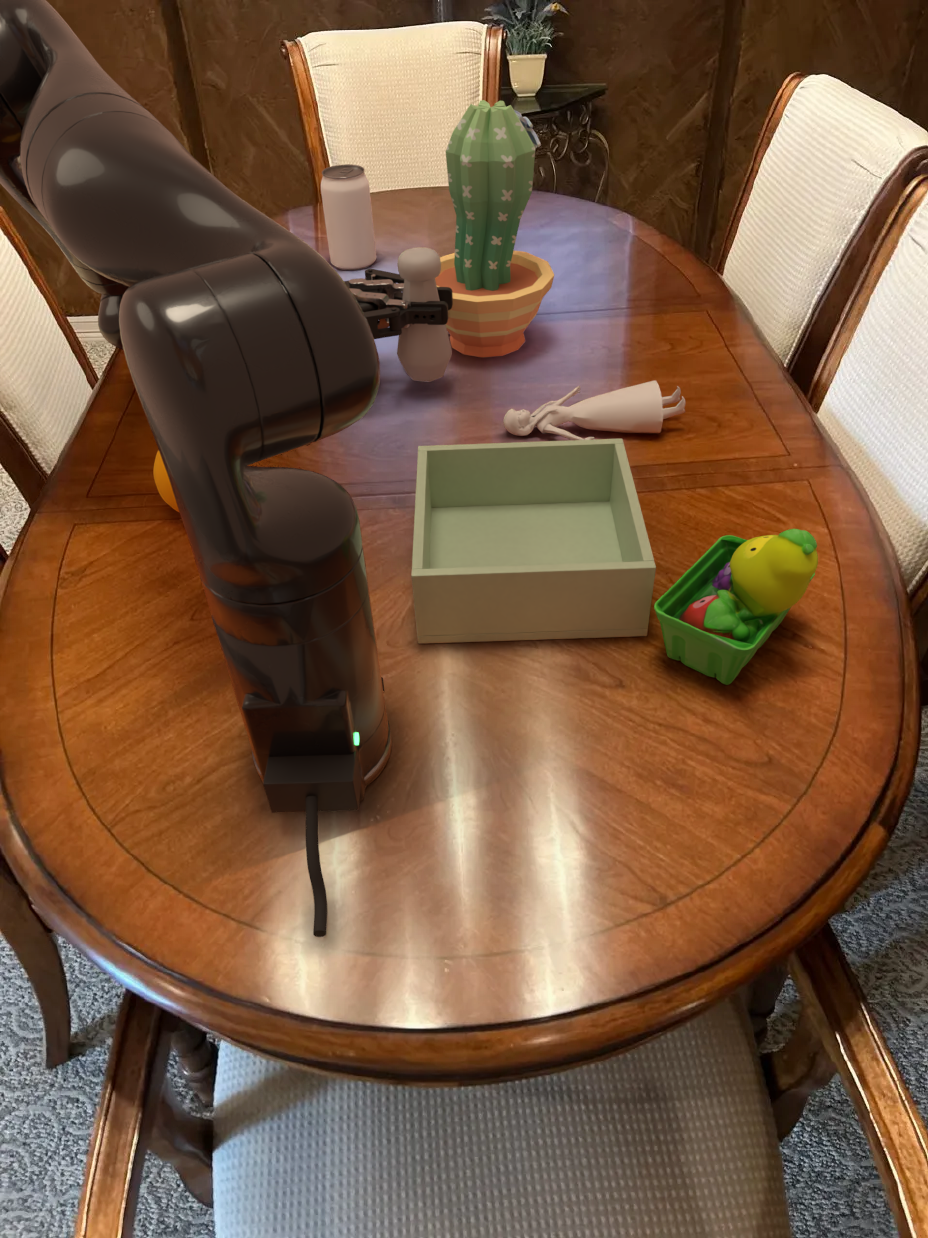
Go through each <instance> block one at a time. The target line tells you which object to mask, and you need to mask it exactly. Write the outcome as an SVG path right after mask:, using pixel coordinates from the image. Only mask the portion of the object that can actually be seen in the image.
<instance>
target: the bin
mask: <svg viewBox="0 0 928 1238" xmlns="http://www.w3.org/2000/svg"><path fill="white" fill-rule="evenodd" d="M416 459H417V461H416V464H417V465H416V480H415V498H414V501H415V502H414V517H413V536H412V553H411V554H412V555H411V575H410V577H411V578H410V579H411V587H412V597H413V608H414V617H415V627H416V637H417V644H447V643H449V644H450V643H475V642H476V643H482V642H507V641H510V642H511V641H539V640H540V641H541V640H567V639H596V638H597V639H598V638H599V639H600V638H602V639H603V638H628V637H631V638H632V637H647V636H648V631H649V624H650V617H651V608H652V602H653V601H652V600H653V595H654V587H655V579H656V571H657V566H656V562H655V558H654V554H653V550H652V547H651V543H650V539H649V535H648V531H647V527H646V523H645V519H644V516H643V512H642V509H641V503H640V500H639V496H638V493H637V489H636V485H635V481H634V477H633V473H632V469H631V466H630V462H629V459H628V454H627V450H626V447H625V443H624V439H623V438H599V439H597V438H596V439H595V438H594V439H590V440H572V439H568V440H546V441H545V440H544V441H543V440H542V441H541V440H540V441H520V442H519V441H517V442H489V443H488V442H487V443H464V444H463V443H461V444H460V443H459V444H437V445H418V446H417V458H416Z"/></svg>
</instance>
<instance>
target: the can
mask: <svg viewBox="0 0 928 1238" xmlns="http://www.w3.org/2000/svg"><path fill="white" fill-rule="evenodd" d="M321 175H322V178H321V181H320V194H321V202H322V210H323V216H324V217H323V218H324V224H325V232H326V239H327V247H328V253H329V260H330V263H331V265H332V266H334V267H335V268H337V269H339V270H342V271H358V270H359V271H360V270H363V269H368V268H369V267H371V266H373V265H374V263H375V262H376V260H377V250H376V249H377V248H376V239H375V227H374V219H373V218H374V217H373V208H372V198H371V188H370V181H369V179H368V177H367V175H366V173H365V168H364V167H363V166H361V165H358V164H350V163H349V164H348V163H346V164H345V163H344V164H336V165H335V164H334V165H331V166H328V167H326V168H324V169H323V170H321Z"/></svg>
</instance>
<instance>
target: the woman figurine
mask: <svg viewBox="0 0 928 1238" xmlns="http://www.w3.org/2000/svg"><path fill="white" fill-rule="evenodd" d="M579 393H581V385H578V386H576V387H575V388H573V389H572V390H571V391H570V392H569V393H567V394H566V395H564V396H563V397H562V398H560V399H558V400H550V401H548V402H545V403H544V404H542V405H540V406H539V407H538V408H537V409H536V410H534V411H533V412H532V413H531V412H530V411H529V410H527V409H524V408H523V409H519V410H515V409H514V408H513V407H512V408H511V409H508V410H507V412H506V413H505V415H504V417H503V421H502V423H503V426H504V428H505V429H506V431H507V432H508V433H510V434H511V435H513V436H518V437H523V436H528V435H529V434H530V433H532V431H533V430H534V428H535V427H536V428H537V430H539V431H540V432H541V433H542V434H553V435H557V436H558V435H559V436H561V437H564V438H565V439H568V440H594V439H595V437H594V436H588V437H585V438H583V437H580V436H577V435H575V434H573V433H571V432H570V431H568V430H565V429H563V428H561V427H560V428H559V427H558V426H561V425H563V424H565V423H568V422H569V423H573V424H575V425H576V426H577V427H580V428H583V429H586V430H592V431H604V432H614V433H623V434H660V433H661V432H662V429H663V423H664V420H665V419H668V418H672V417H675V416H678V415H681V414H684V413H686V409H685V407H686V399H685V397H684V396H683V395H682V394H681V393H682V392H681V387H680V386H679V385H676V389H675V391H674V392H673V393H672V394H671V395H668V396H667V395H666V396H662V391H661V388H660V385H659V383H658V381H657V380H656V379H655V380H651V381H647V382H643V383H638V384H634V385H631V386H627V387H622V388H618V389H615V390H611V391H608V392H605V393H602V394H597V395H595V396H592V397H588V398H585V399H583V400H580V401H578V402H576V403H574V404H572V405H569V406H564V405H563V404H564V403H565V402H567V401H568V400H569V399H570V398H572V397H574V396H576V395H577V394H579ZM676 403H677V404H676ZM671 404H676V405H675V406H672V407H665V406H667V405H671ZM664 407H665V408H664Z"/></svg>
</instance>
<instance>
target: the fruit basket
mask: <svg viewBox="0 0 928 1238" xmlns="http://www.w3.org/2000/svg"><path fill="white" fill-rule="evenodd" d="M817 547H818V543H817V540H816V539H815V537H814V536H813V535H812V534H811V533H810V532H809V531H808V530H805V529H800V528H789V529H786V530H784V531H781V532H780V533H779V534H766V535H761V536H760V535H759V536H755V537H752V538H749V539H745V538H742V537H740V536H736V535H732V534H725V535H723V536H721V537H718V539H717V540H716V541H715V542H714V543H713V544H712V545H711V546H710V548H708V549H707V550H706V551H705V552H704V553H703V555H702V556H700V557H699V558H698V560H697V561H696V562H694V563H693V564H692V565H691V566H690V567H689V568H688V569H687V570H686V571H685V572H684V573H683V574H682V575H681V577H679V579H678V580H677V581H675V582H674V584H672V585H671V586H670V587H669V588H668V589H667V591H666V592H664V593H663V594H662V595H661V596H660V597H659V598H658V599H657V600H656V601H655V602H654V604H653V609H654V612H655V616H656V618H657V620H658V622H659V625H660V630H661V634H662V639H663V644H664V648H665V652H666V656H667V658H669V659H671V660H674V661H680V663H682V664H683V665H684V666H686V667H688V668H690V669H692V670H694V671H696V672H698V673H699V674H702V675H704V676H706V677H710V678H715V679H716V680H717V681H719V682H720V683H721V684H723V685H725V686H729V685H731V684H732V683H733V682H734V681H735V679H736V678H737V677H738V676H739V674H740V672H741V670H742V669H743V668H744V667H745V666H746V665H747V664H748V663H749V662H750V661H751V660H752V658H753V657H754V656H755V654H756V652H757V651H758V650H759V649H760V648H762V646H763V645H765V643H766V641H767V640H768V639H769V638H770V636H771V634H772V633H773V632H774V631H775V630H776V629H777V628H778V627H779V626H780V624H781V623H782V622H783V620H784V619H785V617H786V616H787V614H788V613H789V611H790V610H791V608H792V607H794V605H796V604H797V603H798V602H799V601H800V600H801V599H802V598H803V597H804V595H805V593H806V592H807V589H808V587H809V585H810V583H811V581H812V580H813V578H814V577H815V575H816V571H817V570H818V569H817V568H818V565H819V556H818V551H817Z"/></svg>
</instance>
